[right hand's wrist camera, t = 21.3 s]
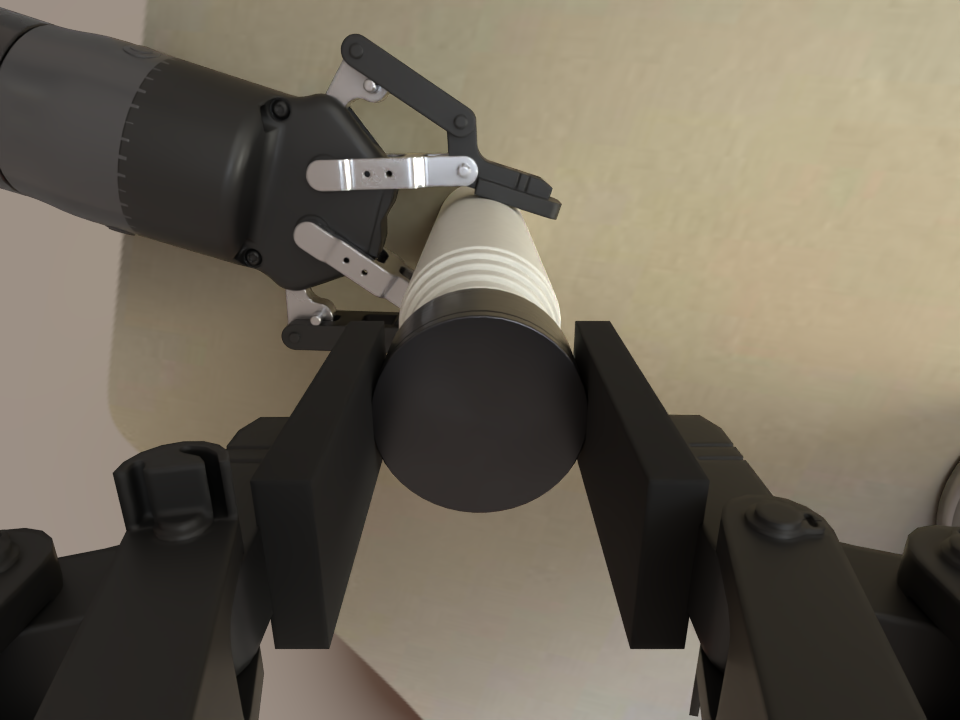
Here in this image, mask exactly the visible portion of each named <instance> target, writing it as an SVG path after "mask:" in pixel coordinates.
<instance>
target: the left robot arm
mask: <svg viewBox="0 0 960 720" xmlns="http://www.w3.org/2000/svg"><path fill="white" fill-rule="evenodd" d="M341 54H342V57H343V61H342V63H341V65H340V67H339V69H338V71H337V73H336V75H335V77H334V78H333V80H332V82H331V84H330V86H329V88H328V90H327V92H326V94H314V95H310V96H305V97H297V96H293V95H289V94H286V93H283V92H280V91H277V90H274V89H271V88H268V87H265V86H261V85H258V84H255V83H252V82H249V81H246V80H243V79H240V78H237V77H234V76H231V75H227V74H224V73H221V72H218V71H215V70H212V69H209V68H206V67H203V66H200V65H197V64H194V63H191V62H188V61H185V60H182V59H178V58H175V57H172V56H169V55H166V54H163V53H160V52H157V51H155V50H153V49H150V48H148V47H145V46H140V45H136V44H133V43H129V42H126V41H123V40H119V39H116V38H112V37H108V36H103V35H98V34H93V33H87V32H81V31H76V30H71V29H67V28H63V27H59V26H56V25H53V24H50V23H47V22H44V21H41V20H38V19H35V18H32V17H29V16H26V15H23V14H20V13H17V12H13V11H10V10H7V9H4V8H1V7H0V188H1V189H5V190H8V191H12V192H15V193H19V194H22V195H25V196H29V197H32V198H35V199H38V200H40V201H42V202H45V203H47V204H49V205H52V206H54V207H56V208H58V209H60V210H63V211H65V212H67V213H70V214H72V215H75V216H78V217H81V218H84V219H87V220H90V221H92V222H96V223H99V224H102V225H105V226H107V227H109V229H111V230H114V231H117V232H120V233H124V234H129V235H140V236H143V237H146V238H150V239H153V240H157V241H160V242H163V243H167V244H171V245H174V246H177V247H181V248H184V249H187V250H191V251H194V252H198V253H201V254H204V255H208V256H211V257H214V258H218V259H221V260H225V261H228V262H231V263H235V264H238V265H242V266H246V267H250V268H254V269H257V270H259V271H261V272H263V273H265V274H266V275H268V276H269V277H270V278H271V279H272V280H273V281H274V282H275V283H277V284H278V285H279V286H281V287H282V288H284V289H286V301H287V313H288V324H287V326H286V327H285V328H284V330H283V332H282V340H283V342H284V344H285V345H286V346H287V347H289V348H291V349H294V350H319V351H331V350H332V349H333V347H334V346H335V344H336V342H337V341H338V339H339V338H340V336H341V334H342V333H343V331H344V330H345V328H346V326H347V325H348V323H349V322H350V321H384V328H385V345H386V353H388V350H389V347H390V345H391V342H392V340H393V338H394V337H395V335H396V333H397V331H398V330H399V314H400V312H371V311H340V310H336V307H335V305H334V303H333V302H332V301H330V300H328V299H325V298H320V297H318V296H317V295H315V294H314V292H313V291H312V289H311V287H314V286H317V285H320V284H323V283H326V282H329V281H331V280H334V279H337V278H340V277H343V276H346V277H348V278H349V279H351V280H352V281H354V282H355V283H357V284H358V285H360V286H361V287H363V288H364V289H366V290H367V291H369V292H370V293H372V294H373V295H375V296H377V297H380V298H385V299H387V300H388V301H390V302H391V303H393V304H394V305H396V306H397V307H399V308H400V307H401V303H402V299H403V297H404V295H405V292H406V290H407V287H408V285H409V282H410V280H411V278H412V275H413V273H414V271H415V270H413V269H412V268H410V267H409V266H407V265H406V264H405V263H404V261H403V260H402V259H401V258H400V257H399V256H397V255H396V254H394V253H393V252H391V251H390V250H389V249H387V248H386V247H384V244H385V240H386V236H387V215H388V213H389V211H390V209H391V208H392V206H393V204H394V202H395V201H396V197H397V193H398V190H399V189H412V188H421V187H447V186H467V187H470V188H473V189H475V191H474V195H477V196H480V197H484V198H487V199H490V200H494V201H497V202H500V203H502V204H506V205H509V206H512V207H515V208H518V209H521V210H524V211H528V212H531V213H534V214H537V215H540V216H543V217H546V218H550V219H554V220H556V219H557V216H558V213H559V210H560V207H561V205H562V204H561V203H560V202H559V200H557V199H555V198H552V197H550V194H551V191H552V189H553V188H552V187H551V186H550V185H549V184H548V183H546V182H545V181H544V180H543V179H542V178H541V177H538V176H535V175H532V174H529V173H526V172H523V171H520V170H517V169H514V168H511V167H508V166H504V165H501V164H498V163H495V162H492V161H489V160H487V159H485V158H484V157H483V156H482V155H481V154H480V152H479V150H478V146H477V131H476V117H475V114H474V113H473V111H472V110H471V109H469V108H468V107H466V106H465V105H463V104H462V103H461V102H459V101H458V100H456V99H455V98H453V97H452V96H450V95H449V94H447V93H446V92H444V91H443V90H442V89H440V88H439V87H437V86H436V85H434V84H433V83H431V82H430V81H428V80H427V79H425V78H424V77H423V76H421V75H420V74H418V73H417V72H415V71H414V70H412V69H411V68H409V67H408V66H406V65H405V64H404V63H402V62H401V61H399V60H398V59H396V58H395V57H393V56H392V55H390V54H389V53H387V52H386V51H385V50H383V49H382V48H380V47H379V46H377V45H376V44H374V43H373V42H371V41H370V40H368V39H367V38H365V37H364V36H362V35H360V34H351V35H349V36H347V37H346V38H345V39H344V41H343V43H342V45H341ZM389 93H391V94H392V95H394V96H395V97H397V98H398V99H400V100H401V101H403V102H404V103H406V104H407V105H409V106H410V107H412V108H413V109H415V110H416V111H418V112H419V113H421V114H422V115H424V116H425V117H427V118H428V119H430V120H431V121H433V122H434V123H435V124H437V125H438V126H440V127H441V128H443V129H444V130H446V131H447V139H448V153H394V154H385V152H384V151H383V150H382V148H381V147H380V146H379V144H378V143H377V142H376V140H375V139H374V138H373V137H372V135H371V134H370V133H369V131H368V130H367V129H366V127H365V126H364V125H363V123H362V122H361V121H360V119H359V118H358V117H357V116H356V114H355V113H354V112H353V110H352V109H351V108H350V105H351V104H352V103H353V102H354V101H355V100H357V99H364V100H367V101H369V102H376V103H377V102H381V101H383V100H385V99H386V98H387V96H388V95H389ZM376 258H377V259H376ZM364 270H366V271H367V273H366V272H364Z"/></svg>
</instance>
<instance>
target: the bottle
mask: <svg viewBox="0 0 960 720" xmlns="http://www.w3.org/2000/svg"><path fill="white" fill-rule="evenodd" d="M474 191H475V189H473V188H470V187H467V186H460V187H459V188H457V189H456V190H454V191H453V192H452V193H451V194H450V195H449V196H448V197H447V198H446V200H445V201H444V203H443V204H442V206H441V209H440V211H439V213H438V216H437V218H436V221H435V223H434V225H433V228H432V230H431V232H430V235H429V237H428V240H427V242H426V244H425V247H424V249H423V252H422V254H421V256H420V259H419V261H418V263H417V266H416V268H415V271H414V273H413V275H412V278H411V280H410V282H409V285H408V287H407V290H406V292H405V295H404V297H403V299H402V303H401V307H400V314H399V328H400V327H401V326H402V324H403V323H404V322H405V320H406V319H407V318H408V317H409V316H410V315H411V314H412V313H413V312H415V311H416V310H417V309H419V308H420V307H421V306H423V305H424V304H426V303H427V302H429V301H431V300H433V299H434V298H436V297H439V296H441V295H444V294H446V293H449V292H453V291H457V290H462V289H469V288H490V289H498V290H502V291H506V292H510V293H513V294H516V295H518V296H521V297H523V298H525V299H527V300H529V301H531V302H532V303H534V304H536V305H537V306H538V307H540V308H541V309H542V310H544V311H545V312H546V313H547V314H548V315H549V316H550V317H551V318H552V319H553V320H554V321H555V322H556V324H557V325H558V326H559V328H560V329H561V317H560V309H559V304H558V301H557V298H556V295H555V292H554V290H553V288H552V285H551V283H550V280H549V278H548V276H547V273H546V271H545V269H544V266H543V264H542V261H541V259H540V257H539V254H538V252H537V249H536V247H535V245H534V242H533V240H532V237H531V235H530V233H529V230H528V228H527V225H526V223H525V221H524V218H523V216H522V214H521V211H520V209H518V208H515V207H512V206H509V205H506V204H502V203H500V202H497V201H494V200H490V199H487V198H484V197H480V196H477V195H474Z"/></svg>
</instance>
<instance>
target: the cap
mask: <svg viewBox="0 0 960 720" xmlns="http://www.w3.org/2000/svg"><path fill="white" fill-rule="evenodd" d="M587 410H588V396H587V392H586V387H585V385H584V382H583V380H582V377H581V374H580V372H579V369H578V367H577V364H576V361H575V359H574V356H573V354H572V351H571V349H570V346H569V343H568V341H567V339H566V337H565V335H564V334H563V332H562V330H561V329H560V328H559V326H558V325H557V324H556V322H555V321H554V320H553V319H552V318H551V317H550V316H549V315H548V314H547V313H546V312H545V311H544V310H542V309H541V308H540V307H538V306H537V305H536V304H534V303H532V302H531V301H529V300H527V299H525V298H523V297H521V296H518V295H516V294H513V293H510V292H506V291H502V290H498V289H490V288H469V289H462V290H457V291H453V292H449V293H446V294H444V295H441V296H439V297H436V298H434V299H433V300H431V301H429V302H427V303H426V304H424V305H423V306H421V307H420V308H419V309H417V310H416V311H415V312H413V313H412V314H411V315H410V316H409V317H408V318H407V319H406V320H405V322H404V323H403V324H402V326H401V327H400V328H399V330H398V331H397V333H396V335H395V337H394V338H393V340H392V342H391V345H390V347H389V350H388V353H387V355H386V358H385V360H384V363H383V365H382V368H381V371H380V373H379V376H378V378H377V381H376V384H375V386H374V390H373V394H372V417H373V432H374V441H375V444H376V446H377V449H378V452H379V453H380V455H381V457H382V459H383V461H384V463H385V464H386V465H387V467H388V468H389V470H390V471H391V472H392V474H393V475H394V476H395V477H396V478H397V479H398V480H399V481H400V482H401V483H402V484H403V485H405V486H406V487H407V488H408V489H409V490H411V491H412V492H414V493H415V494H417V495H418V496H420V497H421V498H423V499H425V500H427V501H429V502H431V503H434V504H436V505H439V506H442V507H445V508H448V509H453V510H457V511H463V512H472V513H487V512H496V511H503V510H507V509H511V508H515V507H518V506H520V505H523V504H526V503H528V502H530V501H532V500H534V499H536V498H538V497H540V496H541V495H543V494H544V493H546V492H548V491H549V490H550V489H551V488H553V487H554V486H555V485H556V484H557V483H559V482H560V481H561V479H562V478H563V477H564V476H565V475H566V474H567V473H568V472H569V470H570V469H571V468H572V466H573V465H574V463H575V462H576V460H577V458H578V456H579V454H580V452H581V451H582V448H583V445H584V442H585V439H586V425H587Z"/></svg>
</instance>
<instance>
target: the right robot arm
mask: <svg viewBox="0 0 960 720" xmlns="http://www.w3.org/2000/svg"><path fill="white" fill-rule="evenodd" d="M573 356H574V359H575V361H576V364H577V367H578V369H579V372H580V374H581V377H582V380H583V382H584V385H585V387H586V392H587V396H588V410H587V425H586V439H585V442H584V445H583V448H582V451H581V452H580V454H579V456H578V458H577V461H578V464H579V468H580V471H581V475H582V479H583V482H584V486H585V489H586V493H587V496H588V500H589V503H590V507H591V511H592V514H593V518H594V521H595V525H596V528H597V532H598V535H599V539H600V543H601V546H602V550H603V553H604V557H605V560H606V564H607V568H608V571H609V575H610V578H611V582H612V585H613V589H614V592H615V596H616V600H617V603H618V607H619V610H620V614H621V617H622V621H623V624H624V628H625V632H626V635H627V639H628V642H629V646H630V649H684V648H685V642H686V635H687V628H688V622H689V617H690V619H691V622H692V624H693V626H694V629H695V631H696V634H697V636H698V638H699V641H700V643H701V644H700V651H699V657H698V663H697V669H696V675H695V681H694V688H693V694H692V700H691V707H690V714H689V715H692V716H697V717H698V713H699V708H700V709H701V717H702V720H960V461H959V463H958V464H957V466H956V467H955V469H954V470H953V472H952V474H951V475H950V477H949V479H948V481H947V483H946V485H945V487H944V490H943V492H942V495H941V498H940V501H939V506H938V511H937V520H936V525H932V526H926V527H919V528H917V529H916V530H914V531H913V532H912V533H911V534H909V535H908V538H907V542H906V545H905V549H904V552H903V555H900V554H895V553H890V552H885V551H880V550H874V549H869V548H864V547H859V546H854V545H850V544H846V543H842V542H839V540H838V538H837V536H836V534H835V532H834V530H833V529H832V528H831V526H830V525H829V524H828V523H827V521H826V520H825V519H824V518H823V517H821V516H820V515H818V514H817V513H815V512H814V511H812V510H811V509H809V508H808V507H806V506H803V505H801V504H798V503H796V502H793V501H791V500H788V499H784V498H780V497H775V496H773V495H772V494H771V493H770V491H769V490H768V489H767V487H766V486H765V485H764V483H763V482H762V481H761V479H760V478H759V477H758V476H757V474H756V473H755V472H754V470H753V469H752V468H751V466H750V465H749V464H748V463H747V461H746V460H743V456H742V455H741V453H740V452H739V451H738V450H737V448H736V447H733V443H732V442H731V440H730V439H729V438H728V436H727V435H726V434H725V433H724V431H723V430H722V429H721V428H720V427H718V426H717V425H715V424H713V423H712V422H710V421H708V420H707V419H705V418H703V417H702V416H700V415H668V413H667V412H666V410H665V409H664V407H663V405H662V404H661V402H660V401H659V399H658V397H657V396H656V394H655V393H654V391H653V389H652V388H651V386H650V385H649V383H648V381H647V380H646V378H645V377H644V375H643V373H642V372H641V370H640V369H639V367H638V365H637V364H636V362H635V361H634V359H633V357H632V356H631V354H630V353H629V351H628V349H627V348H626V346H625V345H624V343H623V341H622V340H621V338H620V337H619V335H618V333H617V332H616V330H615V329H614V327H613V326H612V324H611V322H610V321H575V338H574V355H573ZM385 358H386V345H385V328H384V321H350V322H349V323H348V325H347V326H346V328H345V330H344V331H343V333H342V334H341V336H340V338H339V339H338V341H337V342H336V344H335V346H334V347H333V349H332V350H331V352H330V354H329V355H328V357H327V358H326V360H325V362H324V363H323V365H322V366H321V368H320V369H319V371H318V373H317V374H316V376H315V377H314V379H313V381H312V382H311V384H310V385H309V387H308V389H307V390H306V392H305V393H304V395H303V397H302V398H301V400H300V401H299V403H298V405H297V406H296V408H295V409H294V411H293V413H292V414H291V416H290V417H260V418H258V419H257V420H255V421H253V422H252V423H250V424H248V425H247V426H245V427H244V428H242V429H240V430H239V431H238V432H237V433H236V435H235V436H234V437H233V439H232V440H231V441H230V443H229V444H228V445H227V449H224V448H223V447H221V446H220V445H218V444H214V443H209V442H205V441H183V442H177V443H172V444H166V445H161V446H158V447H155V448H152V449H149V450H146V451H143V452H141V453H139V454H137V455H135V456H133V457H132V458H130V459H128V460H126V461H124V462H123V463H122V464H121V465H120V466H119V467H118V468H117V469H116V470H115V471H114V472H113V476H114V481H115V485H116V489H117V493H118V497H119V502H120V506H121V510H122V514H123V518H124V522H125V527H126V533H125V535H124V537H123V539H122V541H121V543H120V545H117V546H113V547H109V548H106V549H100V550H95V551H90V552H85V553H80V554H75V555H70V556H64V557H59V558H57V554H56V551H55V547H54V544H53V540H52V538H51V537H50V536H48V535H47V534H46V533H45V532H43V531H41V530H34V529H28V528H20V529H9V530H0V720H258V718H259V710H260V702H261V694H262V685H263V677H264V670H263V663H262V657H261V651H260V643H261V641H262V638H263V636H264V633H265V631H266V629H267V626H268V624H269V621H270V619H271V625H272V631H273V638H274V644H275V649H329V648H330V644H331V641H332V637H333V634H334V630H335V627H336V623H337V619H338V616H339V612H340V609H341V605H342V602H343V598H344V594H345V591H346V587H347V584H348V580H349V577H350V573H351V570H352V566H353V562H354V559H355V555H356V552H357V548H358V545H359V541H360V538H361V534H362V530H363V527H364V523H365V520H366V516H367V513H368V509H369V506H370V502H371V498H372V495H373V491H374V488H375V484H376V481H377V477H378V474H379V470H380V466H381V463H382V457H381V455H380V453H379V452H378V449H377V446H376V444H375V441H374V432H373V417H372V394H373V390H374V386H375V384H376V381H377V378H378V376H379V373H380V371H381V368H382V365H383V363H384V360H385Z"/></svg>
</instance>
